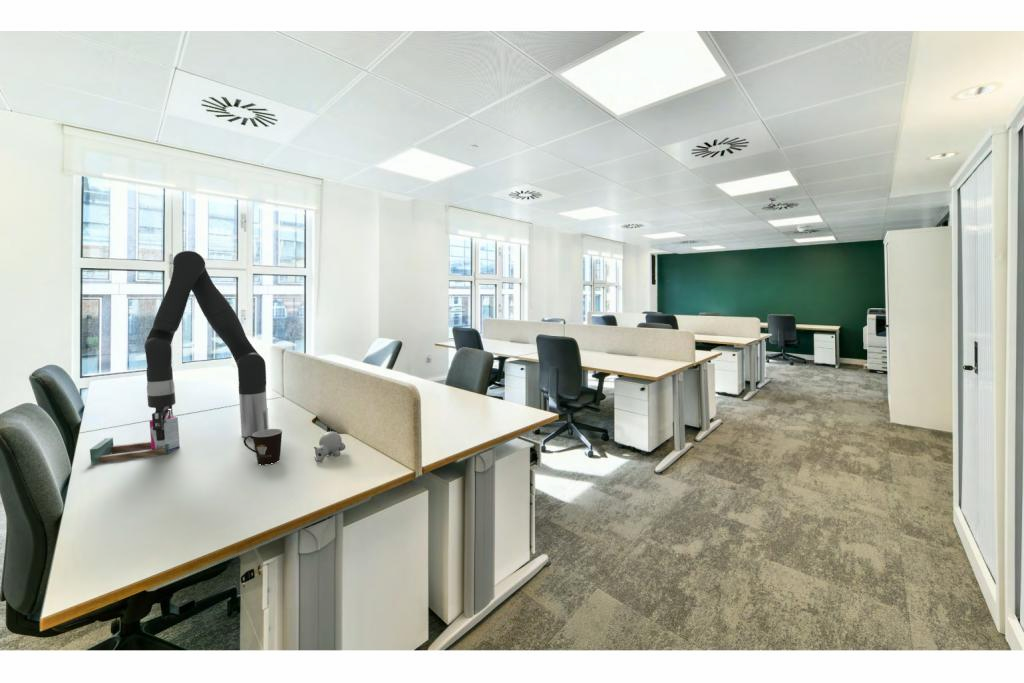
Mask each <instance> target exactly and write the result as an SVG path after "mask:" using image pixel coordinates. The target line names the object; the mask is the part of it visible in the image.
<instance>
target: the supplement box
mask: <svg viewBox="0 0 1024 683" xmlns="http://www.w3.org/2000/svg"><path fill="white" fill-rule="evenodd" d="M162 421H164V420H162ZM158 426H160V424H159V425H158ZM149 430H150V431H149V432H150V441H151V448H150V449H159V448H165V445H166V444H169V451H170V452H171V451H174V450H177V449H179V448H180V447H181V445H180V444H181V443H180V429H179V419H178V417H177V416H173V417H168V419H167V423H166V424H165V429H164V430H165V439H164V440H162V441H157V439H156V431H155V430H153V423H152V419H151V420H149Z"/></svg>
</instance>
